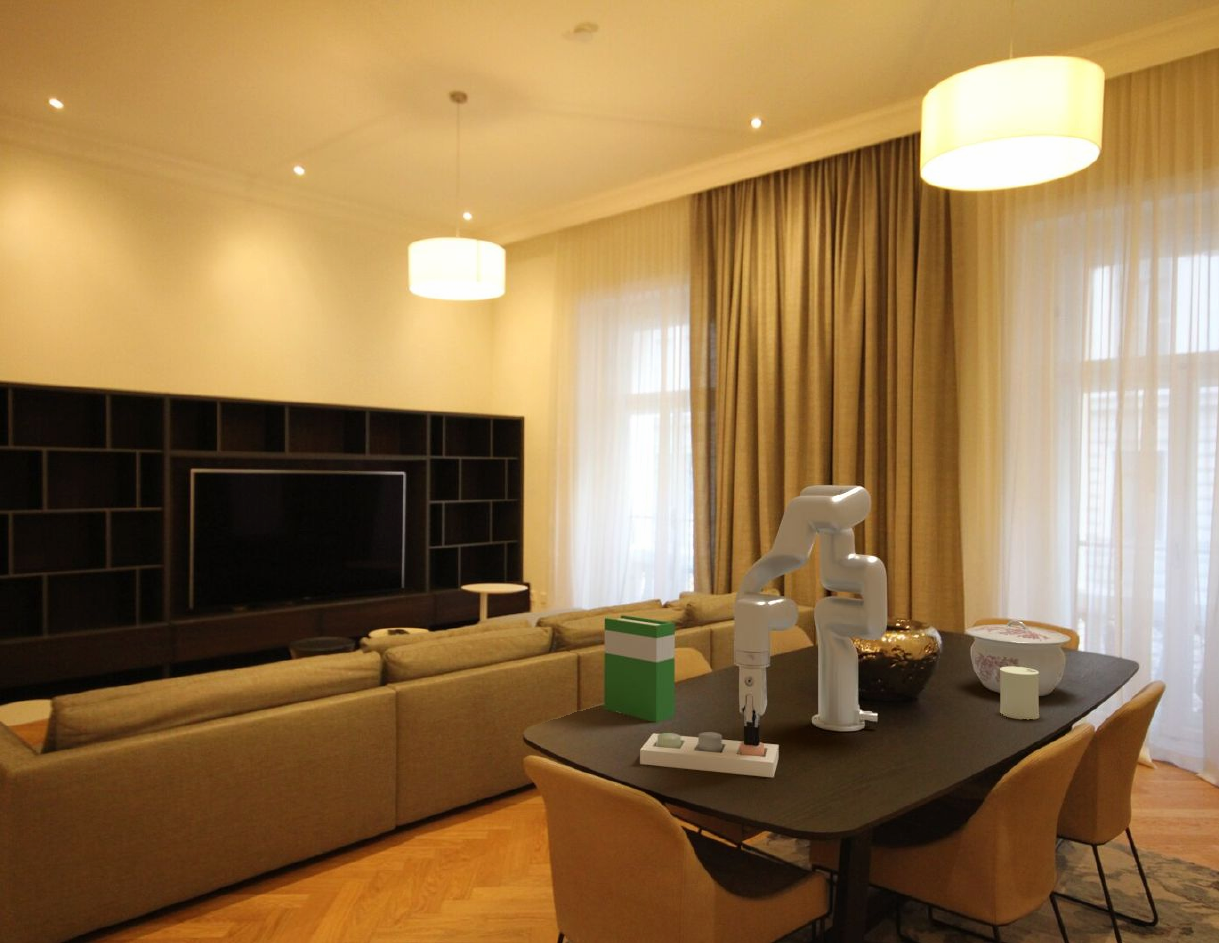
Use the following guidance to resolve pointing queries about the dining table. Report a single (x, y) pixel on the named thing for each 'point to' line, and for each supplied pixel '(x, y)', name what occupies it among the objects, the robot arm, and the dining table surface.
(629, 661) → the hardback book
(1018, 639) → the chamber pot
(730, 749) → the button panel
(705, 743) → the grey button
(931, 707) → the dining table surface
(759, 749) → the terracotta button
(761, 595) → the robot arm
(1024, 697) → the can
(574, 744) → the dining table surface
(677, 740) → the sage button
